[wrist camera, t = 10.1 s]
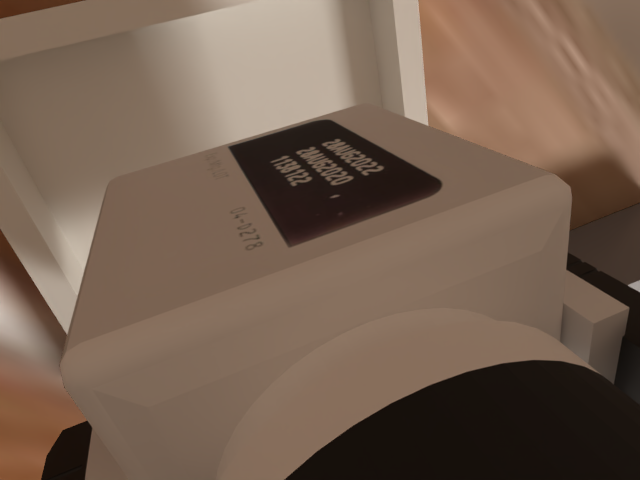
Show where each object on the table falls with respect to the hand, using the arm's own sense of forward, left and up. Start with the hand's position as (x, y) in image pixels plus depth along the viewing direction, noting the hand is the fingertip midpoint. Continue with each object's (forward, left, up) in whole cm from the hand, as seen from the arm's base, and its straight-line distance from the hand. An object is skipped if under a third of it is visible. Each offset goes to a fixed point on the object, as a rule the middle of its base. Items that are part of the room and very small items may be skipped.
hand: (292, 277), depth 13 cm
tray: (0, 0, -8) cm, 8 cm away
